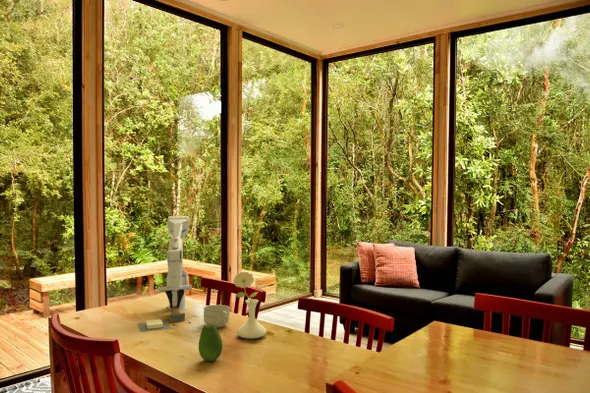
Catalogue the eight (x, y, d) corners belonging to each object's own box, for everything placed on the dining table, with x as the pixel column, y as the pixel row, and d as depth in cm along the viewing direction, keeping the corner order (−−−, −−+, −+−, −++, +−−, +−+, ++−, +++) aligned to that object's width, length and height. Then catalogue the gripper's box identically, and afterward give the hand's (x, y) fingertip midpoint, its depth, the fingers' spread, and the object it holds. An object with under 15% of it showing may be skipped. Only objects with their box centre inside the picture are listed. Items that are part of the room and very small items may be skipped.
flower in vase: (268, 332, 182) (268, 269, 181) (263, 341, 170) (264, 274, 170) (236, 331, 183) (236, 268, 183) (229, 340, 172) (229, 273, 171)
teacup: (200, 324, 193) (200, 305, 193) (225, 321, 198) (225, 302, 197) (209, 333, 180) (209, 313, 180) (235, 330, 185) (235, 310, 185)
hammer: (165, 308, 206) (165, 301, 205) (179, 307, 208) (179, 300, 207) (170, 323, 194) (170, 315, 193) (184, 321, 196) (185, 313, 196)
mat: (137, 324, 192) (137, 323, 192) (166, 321, 197) (166, 320, 197) (140, 333, 180) (140, 332, 180) (171, 329, 185) (171, 328, 185)
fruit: (196, 358, 153) (196, 322, 153) (220, 355, 156) (220, 320, 156) (200, 366, 146) (200, 329, 146) (224, 363, 149) (225, 326, 149)
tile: (145, 320, 189) (147, 325, 183) (160, 319, 192) (163, 323, 186) (145, 324, 190) (147, 329, 183) (160, 323, 192) (163, 327, 186)
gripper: (159, 279, 195) (159, 311, 195) (193, 276, 200) (193, 307, 201) (156, 276, 201) (156, 307, 201) (190, 274, 207) (189, 304, 207)
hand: (174, 307), depth 201 cm, fingers closed on hammer, 2 cm apart
